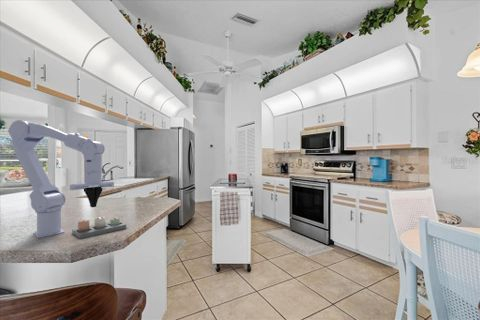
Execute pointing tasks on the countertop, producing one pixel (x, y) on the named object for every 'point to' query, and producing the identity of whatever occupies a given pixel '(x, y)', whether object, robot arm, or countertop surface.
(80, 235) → the button board
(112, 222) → the sage button
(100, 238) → the countertop surface
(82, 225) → the terracotta button
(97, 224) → the cream button
